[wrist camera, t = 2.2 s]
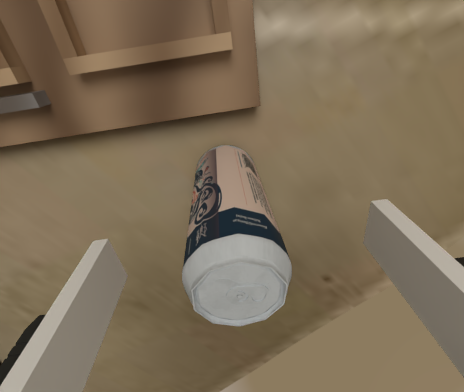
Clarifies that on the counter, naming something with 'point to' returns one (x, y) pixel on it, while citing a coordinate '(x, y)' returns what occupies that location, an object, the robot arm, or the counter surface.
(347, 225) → the counter surface
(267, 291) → the beer can
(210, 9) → the housing
